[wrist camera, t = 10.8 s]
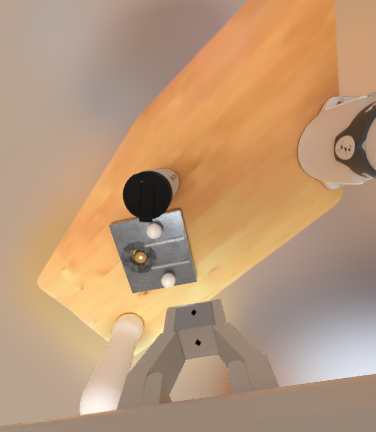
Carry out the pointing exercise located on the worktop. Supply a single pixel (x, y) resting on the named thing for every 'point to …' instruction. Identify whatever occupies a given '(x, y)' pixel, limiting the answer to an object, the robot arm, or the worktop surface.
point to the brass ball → (141, 256)
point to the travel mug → (150, 193)
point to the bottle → (112, 367)
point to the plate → (154, 251)
